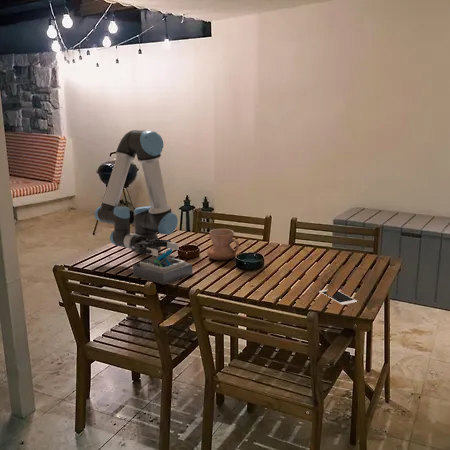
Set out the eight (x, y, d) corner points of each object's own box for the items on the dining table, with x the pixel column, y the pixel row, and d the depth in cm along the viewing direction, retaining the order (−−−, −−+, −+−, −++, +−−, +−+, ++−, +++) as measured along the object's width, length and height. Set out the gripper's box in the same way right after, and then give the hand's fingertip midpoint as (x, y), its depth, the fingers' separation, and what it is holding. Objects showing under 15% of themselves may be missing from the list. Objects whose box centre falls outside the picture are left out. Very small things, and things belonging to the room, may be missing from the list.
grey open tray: (162, 266, 240) (161, 253, 239) (192, 274, 228) (192, 260, 227) (133, 275, 227) (132, 261, 225) (163, 284, 215) (163, 270, 213)
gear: (164, 256, 232) (174, 245, 226) (172, 266, 231) (182, 255, 225) (148, 265, 224) (157, 253, 217) (156, 275, 223) (165, 264, 216)
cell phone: (342, 306, 191) (342, 304, 191) (318, 292, 206) (318, 291, 206) (358, 302, 195) (358, 301, 194) (333, 289, 209) (333, 288, 209)
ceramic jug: (199, 259, 250) (199, 232, 247) (214, 252, 263) (214, 226, 259) (231, 265, 242) (231, 237, 239) (244, 257, 254) (245, 230, 251)
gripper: (154, 244, 246) (186, 252, 232) (115, 255, 228) (147, 264, 214) (154, 229, 244) (186, 236, 231) (114, 239, 226) (147, 247, 212)
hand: (167, 250), depth 222 cm, fingers open, 12 cm apart
